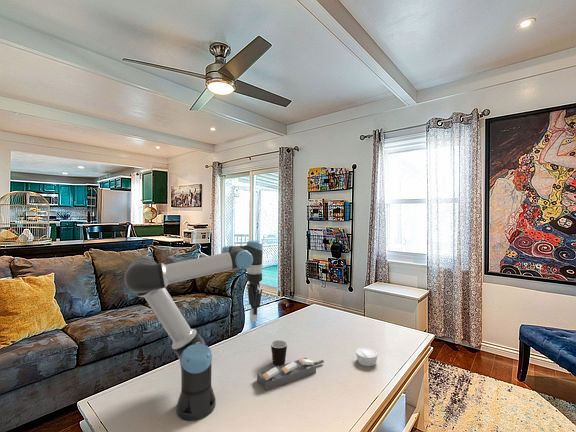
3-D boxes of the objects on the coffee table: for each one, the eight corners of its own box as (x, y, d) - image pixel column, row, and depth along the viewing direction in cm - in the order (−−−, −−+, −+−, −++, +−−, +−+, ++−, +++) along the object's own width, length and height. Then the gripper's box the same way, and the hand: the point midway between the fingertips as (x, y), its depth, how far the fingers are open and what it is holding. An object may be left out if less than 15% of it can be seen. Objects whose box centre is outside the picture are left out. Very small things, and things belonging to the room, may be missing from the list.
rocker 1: (266, 380, 128) (265, 377, 128) (262, 376, 131) (262, 374, 131) (279, 372, 132) (278, 369, 131) (275, 369, 134) (275, 366, 134)
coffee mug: (285, 368, 145) (285, 348, 145) (268, 366, 147) (268, 347, 147) (289, 356, 157) (289, 338, 156) (274, 354, 158) (274, 337, 158)
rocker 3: (302, 364, 138) (303, 361, 139) (298, 361, 141) (299, 358, 141) (313, 364, 142) (314, 362, 142) (309, 361, 145) (310, 359, 145)
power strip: (265, 390, 127) (265, 381, 127) (256, 380, 135) (257, 371, 134) (328, 368, 146) (328, 359, 146) (317, 360, 153) (317, 352, 153)
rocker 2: (285, 373, 133) (284, 371, 133) (281, 370, 136) (281, 368, 136) (297, 366, 137) (296, 364, 137) (293, 363, 140) (293, 361, 139)
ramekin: (351, 362, 152) (352, 352, 152) (362, 354, 160) (362, 345, 160) (371, 370, 144) (371, 360, 144) (381, 361, 153) (381, 352, 152)
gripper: (267, 274, 135) (267, 323, 136) (255, 269, 147) (255, 314, 147) (253, 276, 131) (252, 326, 132) (242, 270, 143) (241, 317, 143)
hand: (254, 320), depth 140 cm, fingers closed
